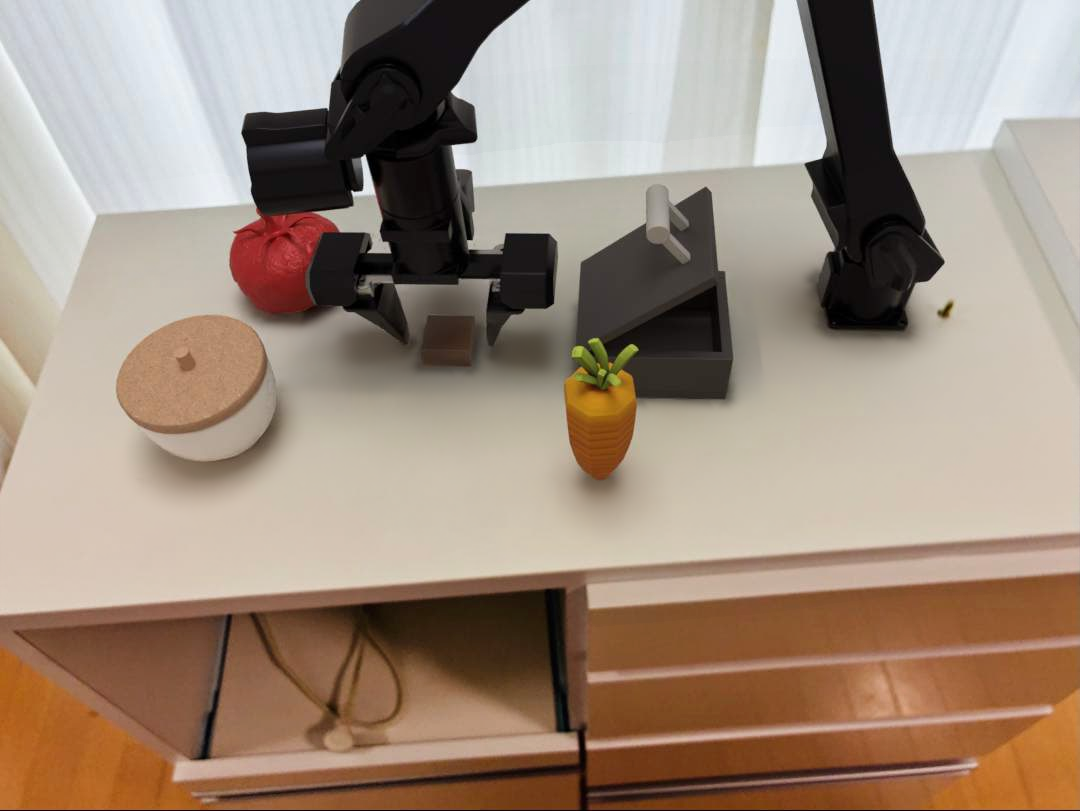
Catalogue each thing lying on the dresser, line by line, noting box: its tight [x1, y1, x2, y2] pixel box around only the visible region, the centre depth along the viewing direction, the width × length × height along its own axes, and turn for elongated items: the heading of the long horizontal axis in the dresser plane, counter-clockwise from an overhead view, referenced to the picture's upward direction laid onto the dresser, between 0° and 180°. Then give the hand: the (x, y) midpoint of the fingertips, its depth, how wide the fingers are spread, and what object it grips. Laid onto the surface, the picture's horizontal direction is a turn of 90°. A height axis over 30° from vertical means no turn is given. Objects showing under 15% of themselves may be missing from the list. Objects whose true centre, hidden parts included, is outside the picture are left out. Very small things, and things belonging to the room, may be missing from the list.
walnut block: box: [420, 314, 477, 367], centre depth 70 cm, size 4×4×2 cm
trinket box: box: [115, 314, 278, 462], centre depth 63 cm, size 11×11×9 cm
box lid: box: [575, 183, 719, 352], centre depth 61 cm, size 12×10×5 cm
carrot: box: [563, 338, 639, 481], centre depth 56 cm, size 5×5×15 cm
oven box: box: [578, 270, 734, 400], centre depth 67 cm, size 12×10×5 cm
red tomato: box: [228, 207, 341, 315], centre depth 72 cm, size 10×10×9 cm
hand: (449, 341), depth 70 cm, fingers open, 7 cm apart
